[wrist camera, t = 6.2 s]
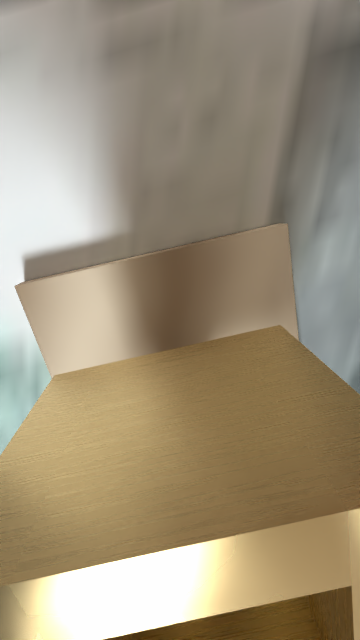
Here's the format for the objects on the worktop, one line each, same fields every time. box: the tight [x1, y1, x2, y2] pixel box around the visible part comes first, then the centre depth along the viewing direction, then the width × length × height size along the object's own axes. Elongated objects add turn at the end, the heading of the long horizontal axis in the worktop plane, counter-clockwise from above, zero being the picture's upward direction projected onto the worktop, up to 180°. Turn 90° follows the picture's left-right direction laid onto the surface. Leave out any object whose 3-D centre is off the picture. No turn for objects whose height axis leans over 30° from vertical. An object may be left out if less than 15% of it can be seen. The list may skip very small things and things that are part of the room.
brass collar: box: [0, 325, 360, 640], centre depth 6 cm, size 6×6×5 cm
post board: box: [15, 223, 299, 378], centre depth 10 cm, size 10×10×6 cm
